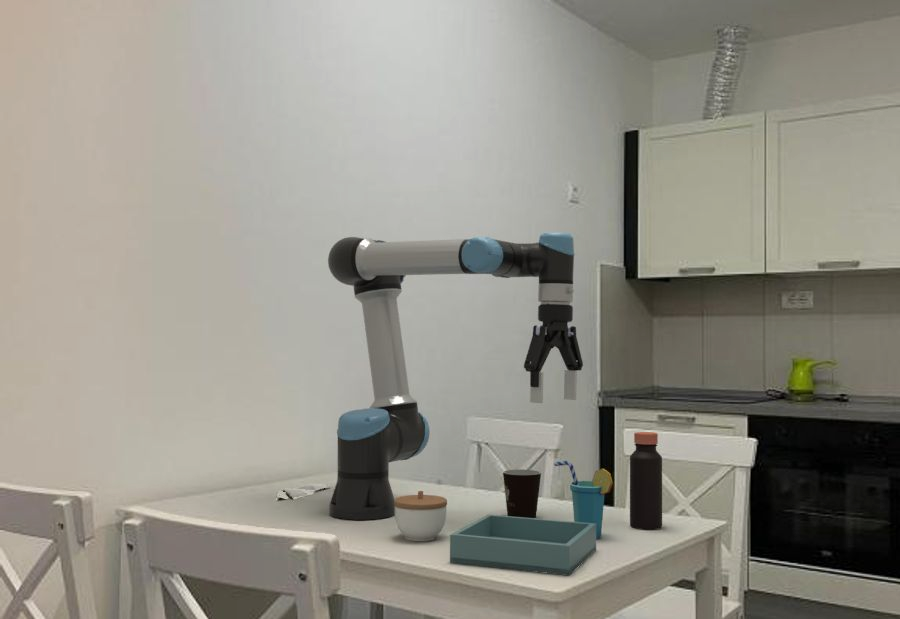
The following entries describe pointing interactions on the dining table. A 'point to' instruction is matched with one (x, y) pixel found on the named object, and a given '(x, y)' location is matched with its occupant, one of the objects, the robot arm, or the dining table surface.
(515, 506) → the coffee mug
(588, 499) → the cup
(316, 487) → the cloth
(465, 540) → the tote
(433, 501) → the lidded jar
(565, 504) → the dining table surface
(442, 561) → the dining table surface
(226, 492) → the dining table surface
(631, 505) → the bottle
